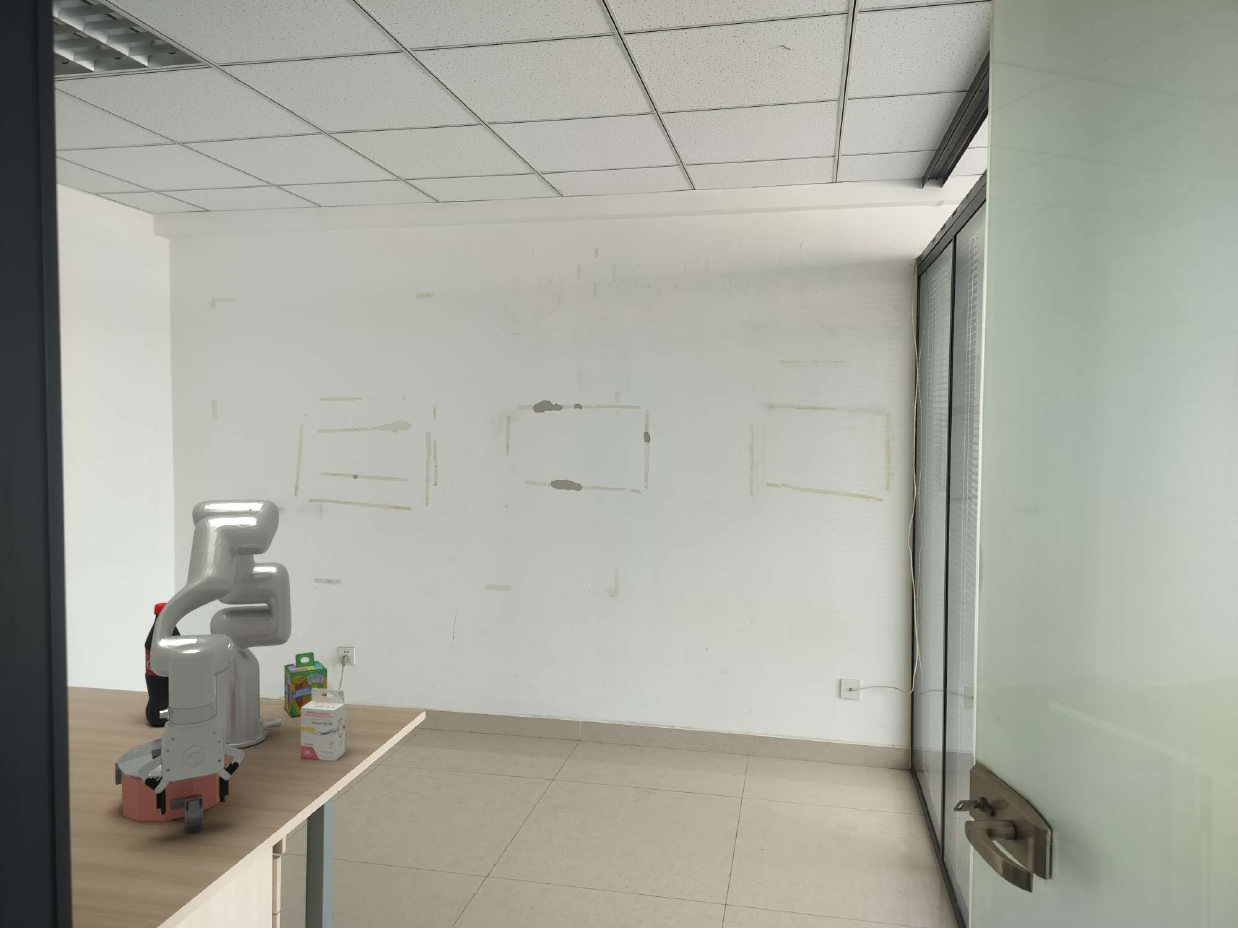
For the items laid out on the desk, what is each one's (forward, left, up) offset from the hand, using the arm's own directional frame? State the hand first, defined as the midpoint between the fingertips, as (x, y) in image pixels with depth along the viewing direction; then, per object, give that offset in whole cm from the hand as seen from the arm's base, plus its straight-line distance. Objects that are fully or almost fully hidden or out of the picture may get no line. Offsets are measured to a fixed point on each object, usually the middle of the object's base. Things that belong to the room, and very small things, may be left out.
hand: (193, 805), depth 152 cm
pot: (+2, -16, -5) cm, 17 cm away
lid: (+2, -16, +3) cm, 16 cm away
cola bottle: (+1, -66, -5) cm, 66 cm away
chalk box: (-31, -58, -5) cm, 66 cm away
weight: (0, 0, -5) cm, 5 cm away
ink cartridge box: (-28, -24, -5) cm, 37 cm away
